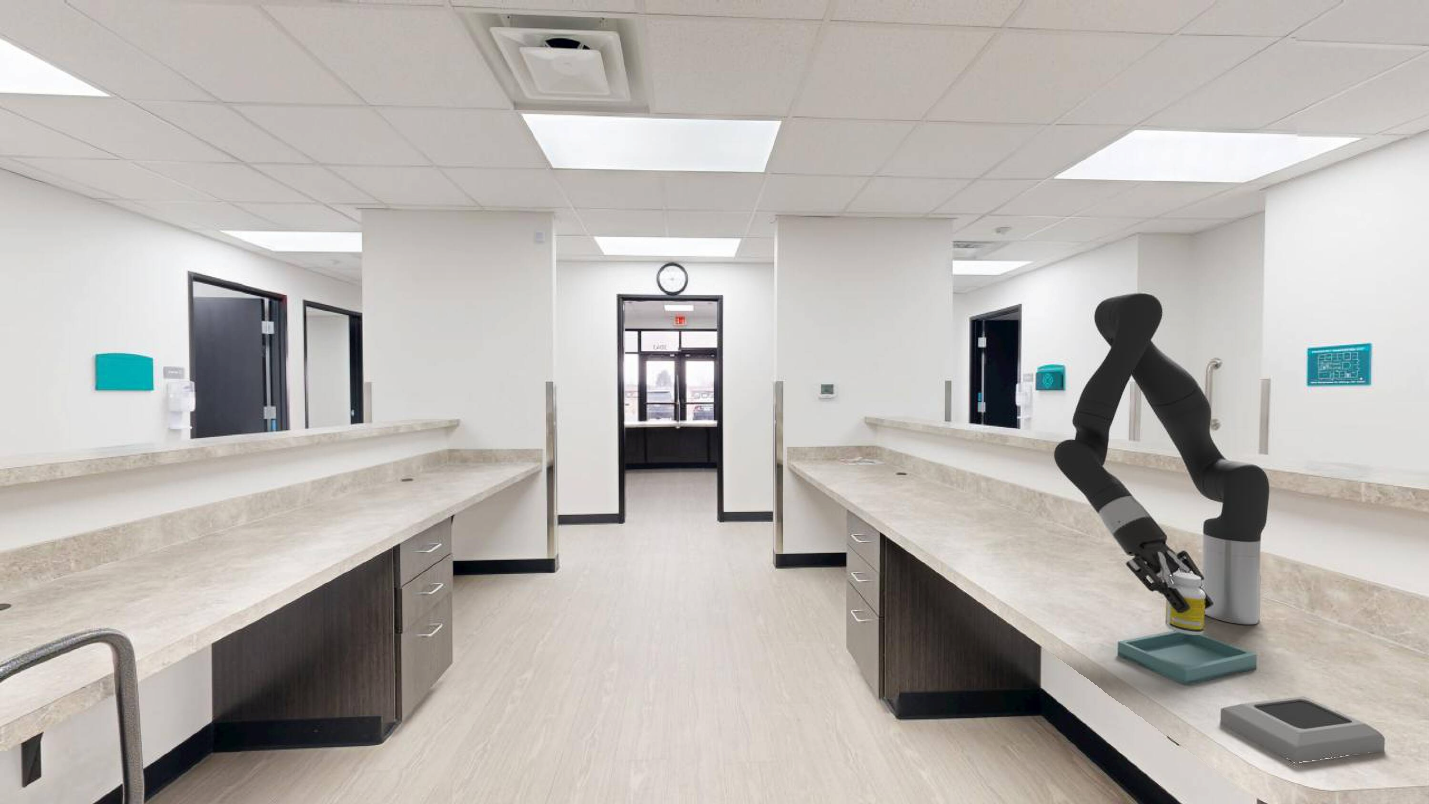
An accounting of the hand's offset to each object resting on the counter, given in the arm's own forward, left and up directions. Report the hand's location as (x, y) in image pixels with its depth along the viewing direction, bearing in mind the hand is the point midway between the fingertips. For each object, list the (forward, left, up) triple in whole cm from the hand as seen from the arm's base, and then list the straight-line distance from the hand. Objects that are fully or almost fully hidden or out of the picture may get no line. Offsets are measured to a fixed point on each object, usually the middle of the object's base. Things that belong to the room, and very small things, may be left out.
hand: (1196, 608), depth 103 cm
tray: (0, -2, -10) cm, 10 cm away
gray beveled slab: (+9, +19, -11) cm, 23 cm away
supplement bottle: (0, -2, -5) cm, 5 cm away
